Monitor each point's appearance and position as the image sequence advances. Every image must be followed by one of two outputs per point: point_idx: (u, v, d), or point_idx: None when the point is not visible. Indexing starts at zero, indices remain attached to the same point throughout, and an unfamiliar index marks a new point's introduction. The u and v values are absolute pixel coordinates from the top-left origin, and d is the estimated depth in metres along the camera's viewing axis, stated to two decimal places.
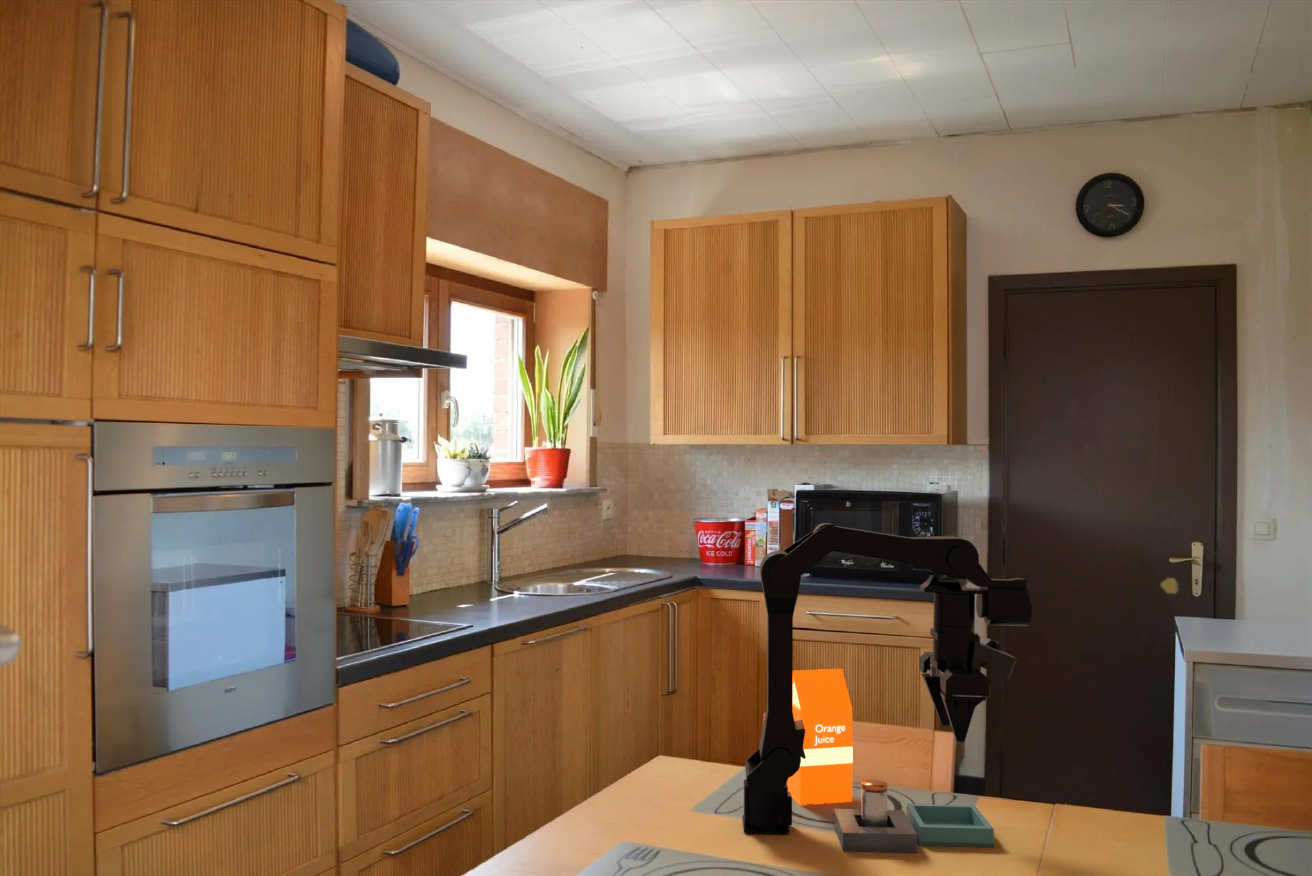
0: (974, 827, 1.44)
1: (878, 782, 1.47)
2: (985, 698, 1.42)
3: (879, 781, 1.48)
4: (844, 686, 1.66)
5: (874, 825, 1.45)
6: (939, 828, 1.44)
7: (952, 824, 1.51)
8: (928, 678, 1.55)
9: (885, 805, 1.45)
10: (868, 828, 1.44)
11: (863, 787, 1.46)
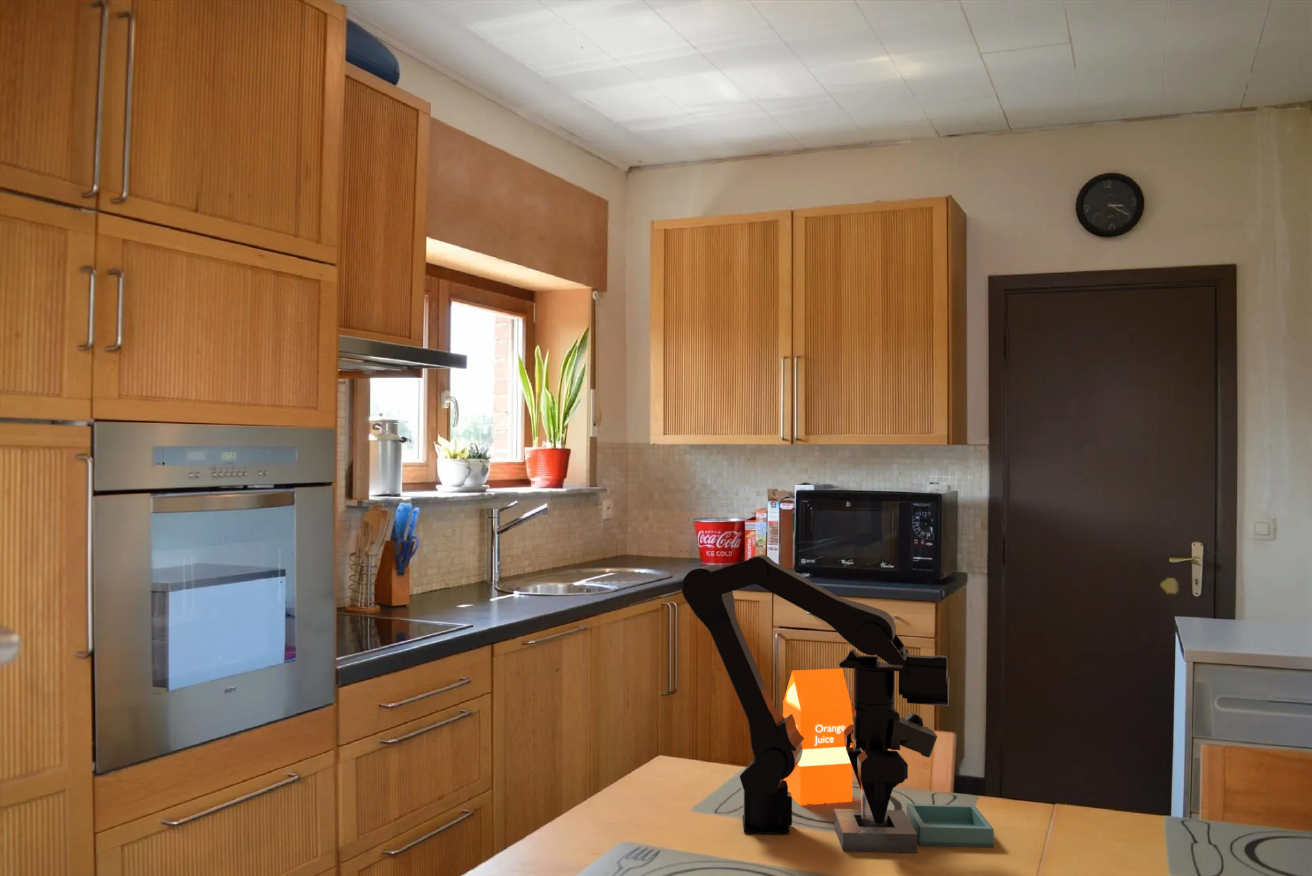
0: (974, 827, 1.44)
1: None
2: (901, 781, 1.39)
3: None
4: (844, 686, 1.66)
5: (874, 825, 1.45)
6: (939, 828, 1.44)
7: (952, 824, 1.51)
8: (851, 753, 1.52)
9: None
10: (868, 828, 1.44)
11: None
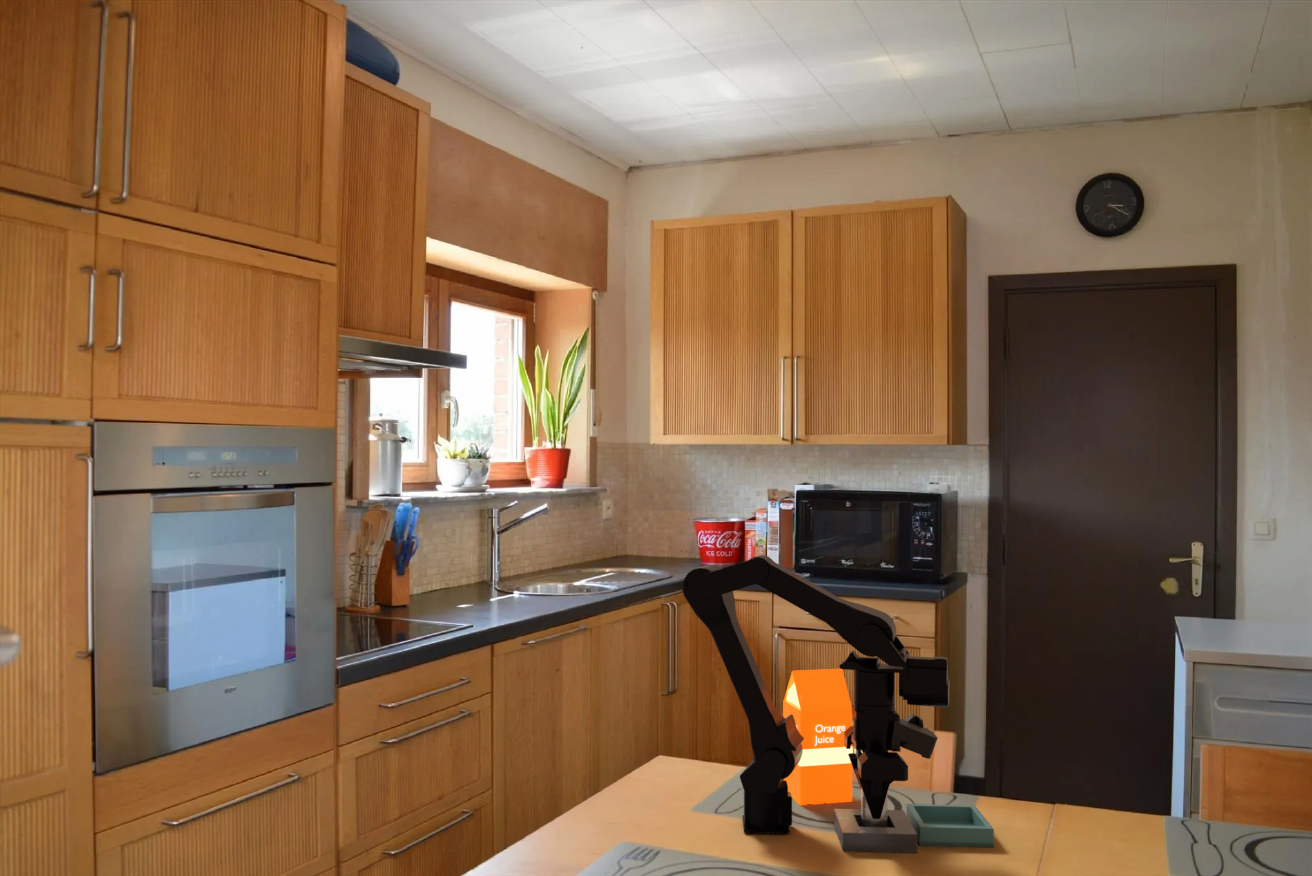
0: (974, 827, 1.44)
1: None
2: None
3: None
4: (844, 686, 1.66)
5: (874, 825, 1.45)
6: (939, 828, 1.44)
7: (952, 824, 1.51)
8: (854, 760, 1.49)
9: (885, 805, 1.45)
10: (868, 828, 1.44)
11: None
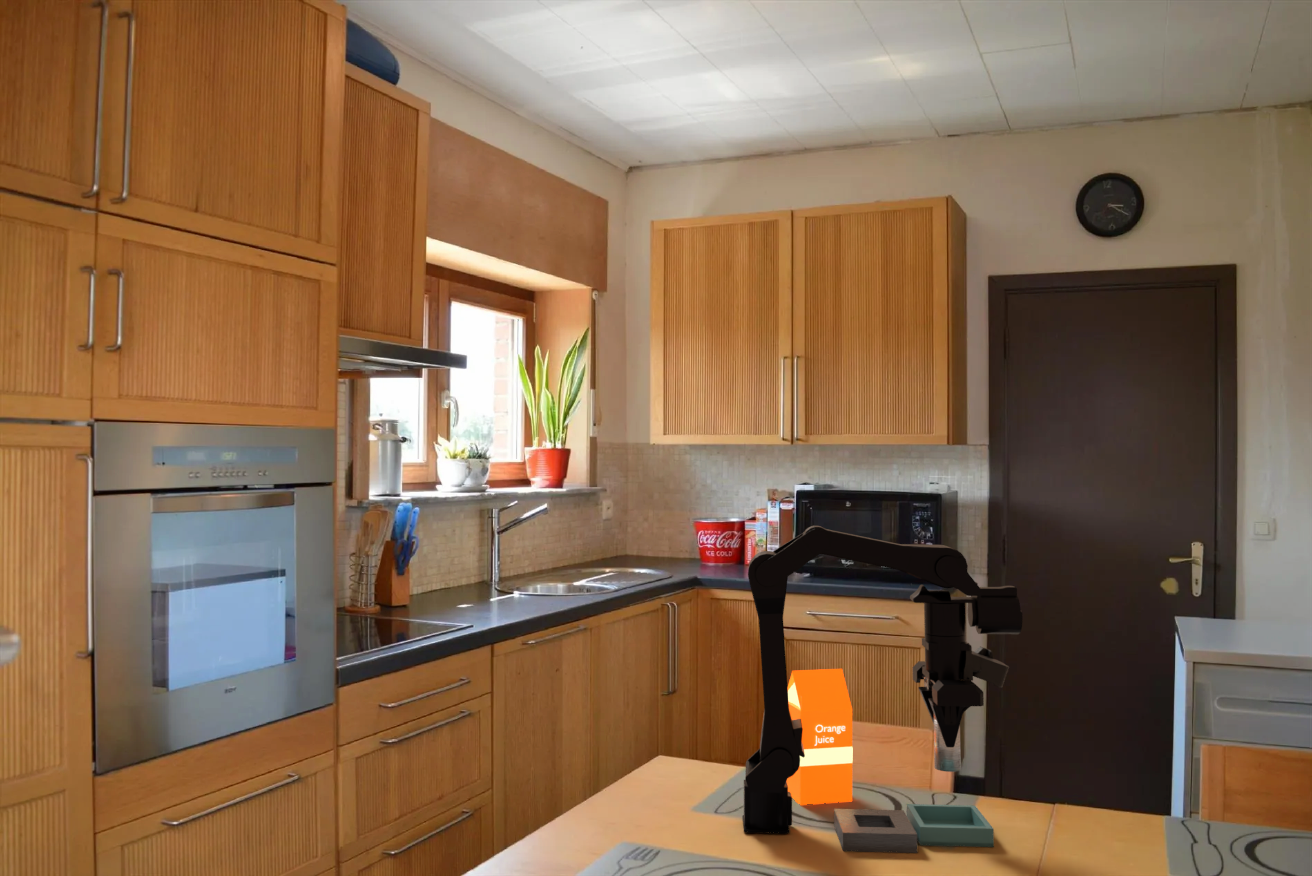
0: (974, 827, 1.44)
1: None
2: None
3: None
4: (844, 686, 1.66)
5: (948, 753, 1.47)
6: (939, 828, 1.44)
7: (952, 824, 1.51)
8: (925, 692, 1.52)
9: (958, 734, 1.48)
10: (868, 828, 1.44)
11: None
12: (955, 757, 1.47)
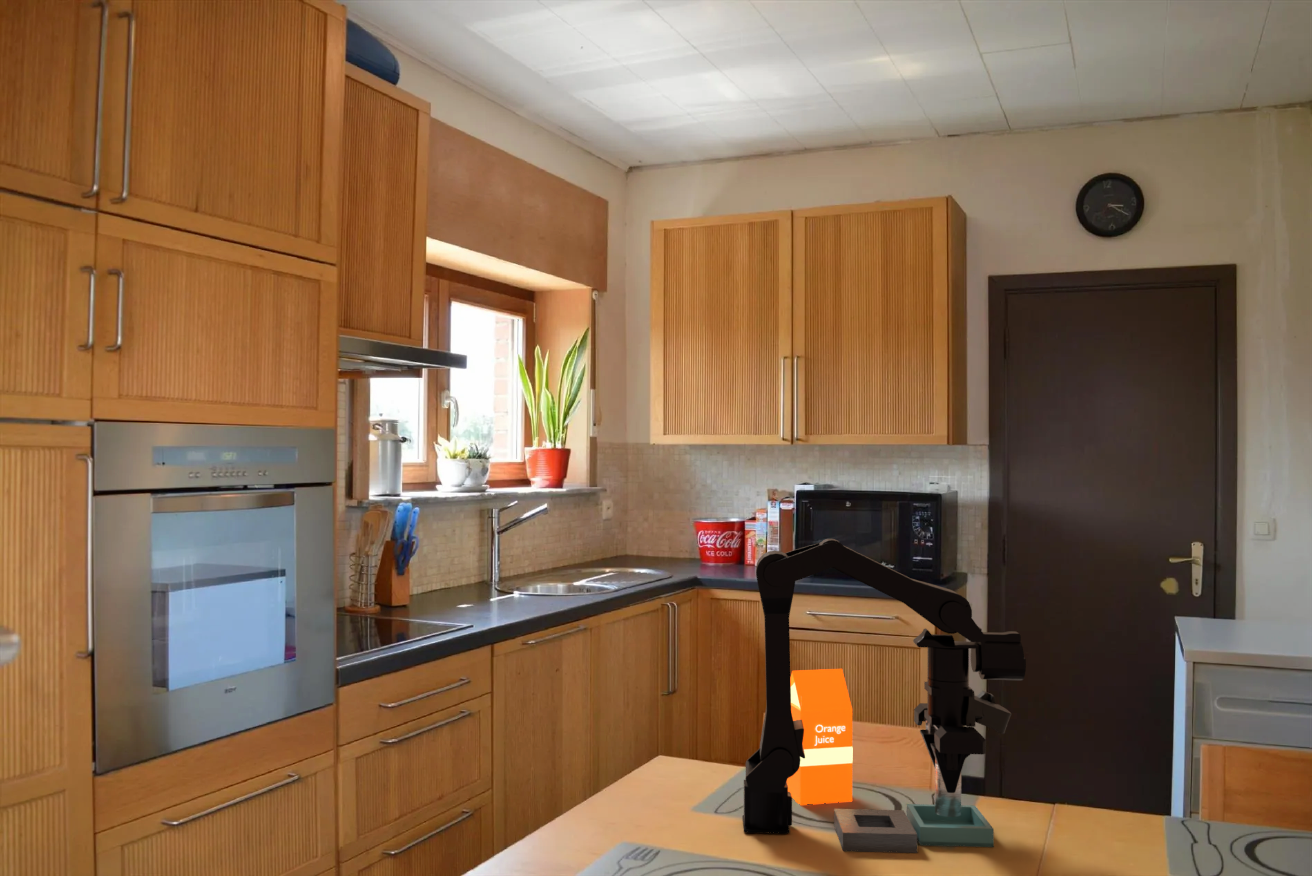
0: (974, 827, 1.44)
1: None
2: None
3: None
4: (844, 686, 1.66)
5: (949, 799, 1.47)
6: (939, 828, 1.44)
7: (952, 824, 1.51)
8: (926, 735, 1.52)
9: (959, 779, 1.48)
10: (868, 828, 1.44)
11: None
12: (956, 803, 1.47)
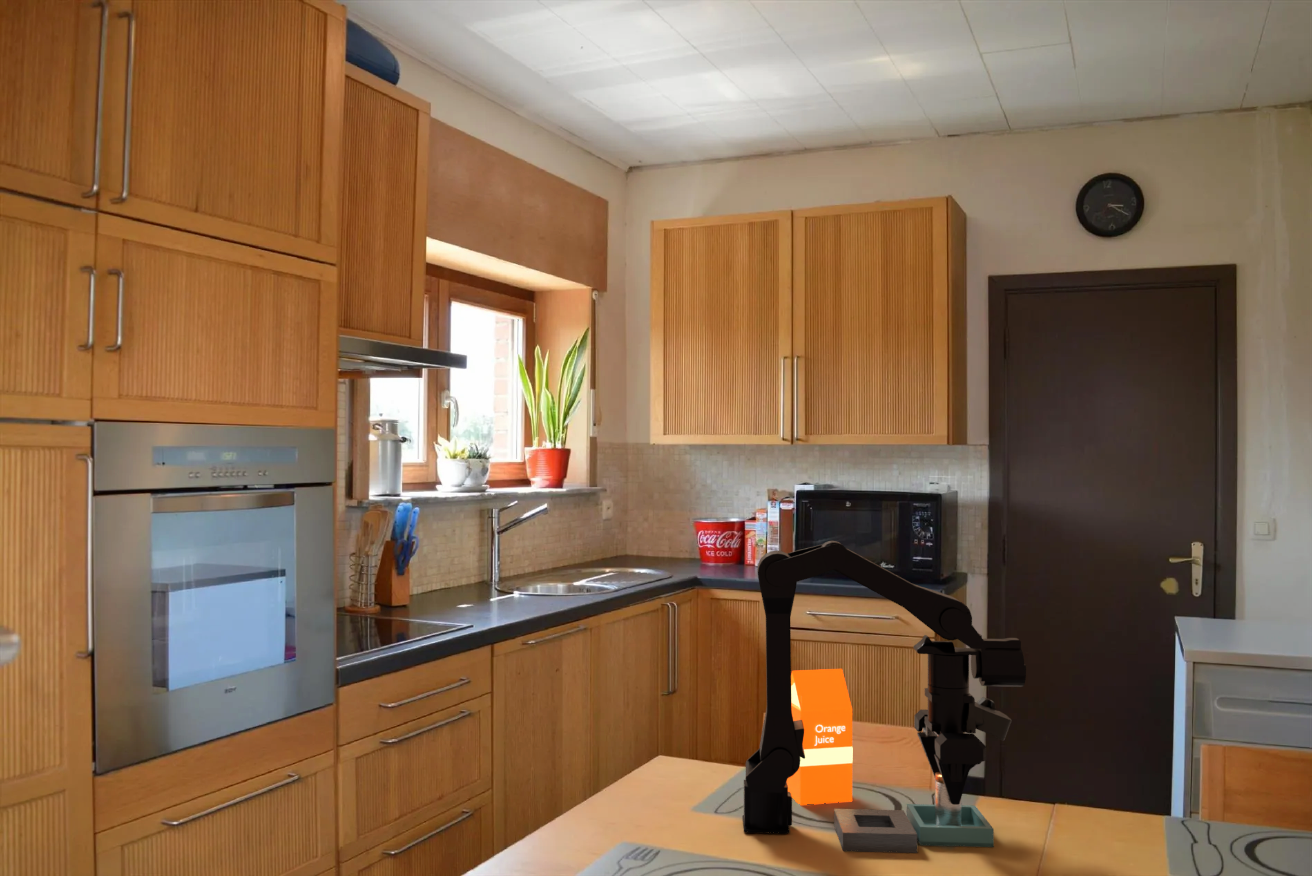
0: (974, 827, 1.44)
1: None
2: (979, 762, 1.42)
3: None
4: (844, 686, 1.66)
5: (949, 816, 1.47)
6: (939, 828, 1.44)
7: None
8: (924, 738, 1.54)
9: None
10: (868, 828, 1.44)
11: (938, 779, 1.48)
12: (956, 820, 1.47)
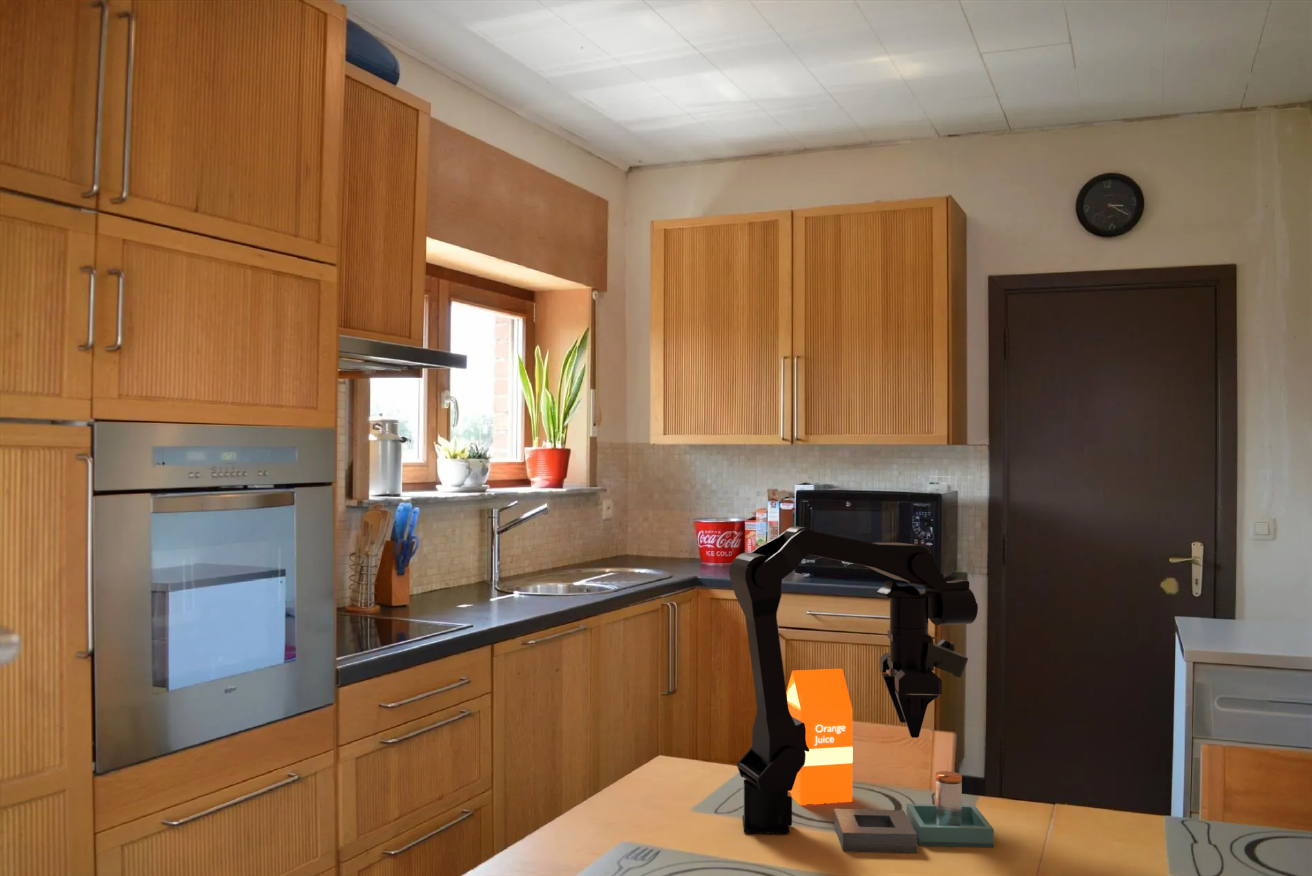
0: (974, 827, 1.44)
1: (952, 774, 1.50)
2: (936, 696, 1.50)
3: (953, 773, 1.50)
4: (844, 686, 1.66)
5: (949, 816, 1.47)
6: (939, 828, 1.44)
7: None
8: (887, 678, 1.64)
9: (960, 796, 1.48)
10: (868, 828, 1.44)
11: (938, 778, 1.48)
12: (956, 820, 1.47)
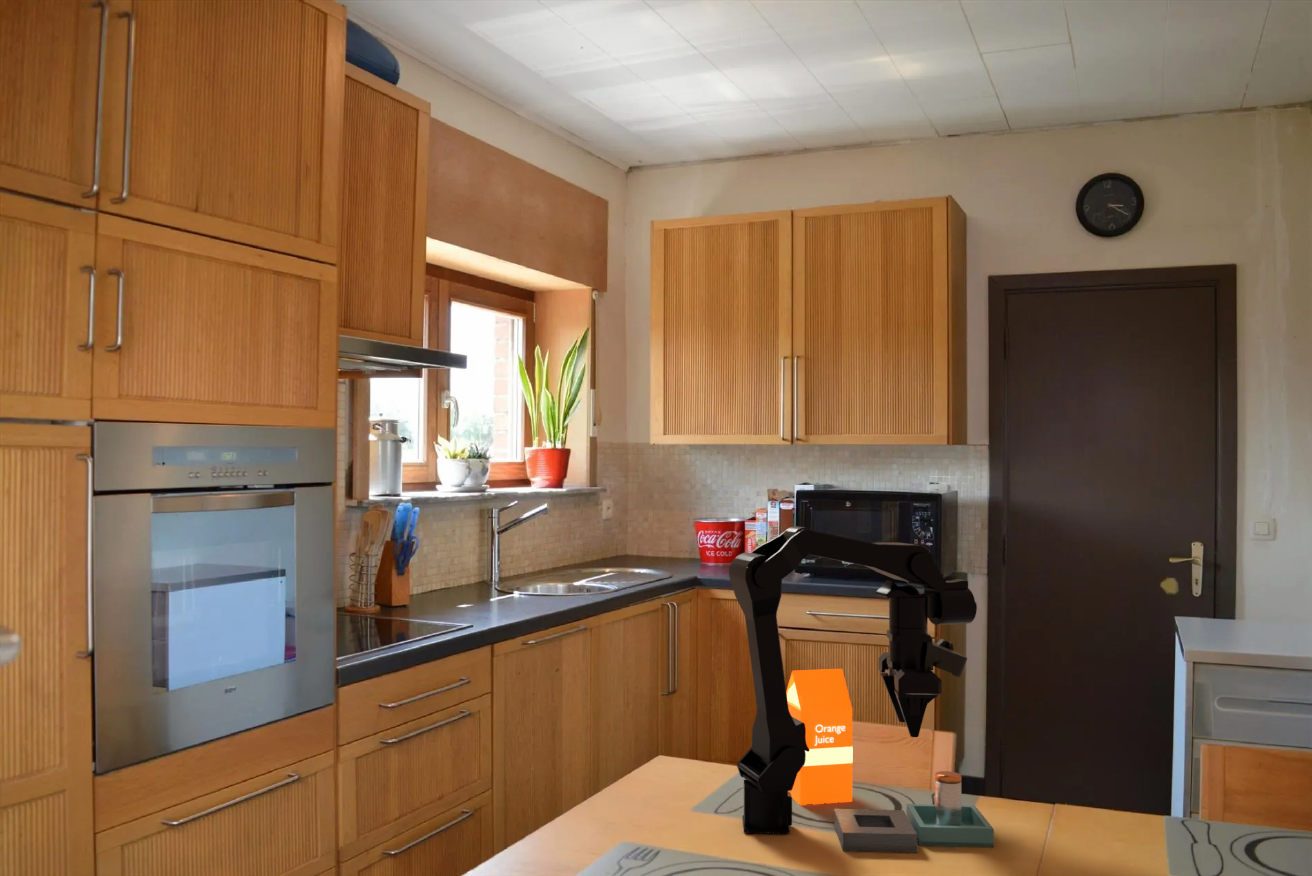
0: (974, 827, 1.44)
1: (952, 774, 1.50)
2: (936, 696, 1.51)
3: (952, 773, 1.50)
4: (844, 686, 1.66)
5: (949, 816, 1.47)
6: (939, 828, 1.44)
7: None
8: (886, 677, 1.64)
9: (960, 796, 1.48)
10: (868, 828, 1.44)
11: (938, 778, 1.49)
12: (956, 820, 1.47)
